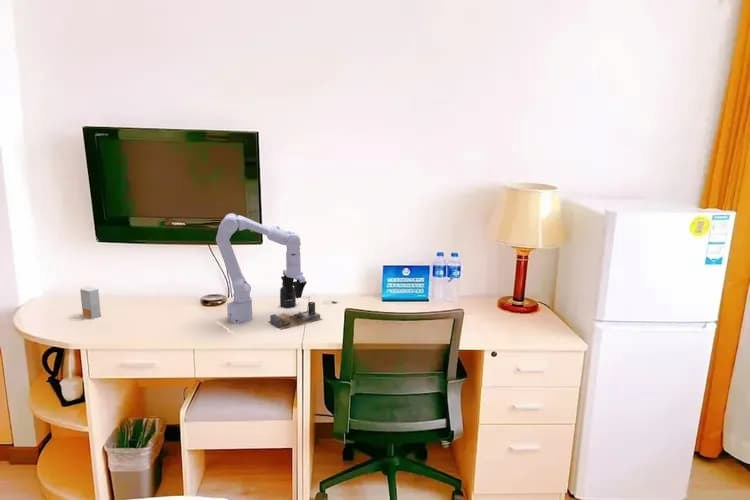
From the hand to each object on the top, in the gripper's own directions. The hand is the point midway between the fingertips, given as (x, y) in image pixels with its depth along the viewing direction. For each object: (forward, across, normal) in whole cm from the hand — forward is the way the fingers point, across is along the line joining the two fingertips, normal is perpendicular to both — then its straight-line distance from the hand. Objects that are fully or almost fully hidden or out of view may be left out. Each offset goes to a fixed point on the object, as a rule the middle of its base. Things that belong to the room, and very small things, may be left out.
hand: (293, 295), depth 229 cm
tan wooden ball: (+9, -4, +7) cm, 12 cm away
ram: (+9, -4, -4) cm, 11 cm away
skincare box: (+11, +51, +66) cm, 84 cm away
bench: (+10, -4, +2) cm, 11 cm away
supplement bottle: (+11, +14, -5) cm, 18 cm away
